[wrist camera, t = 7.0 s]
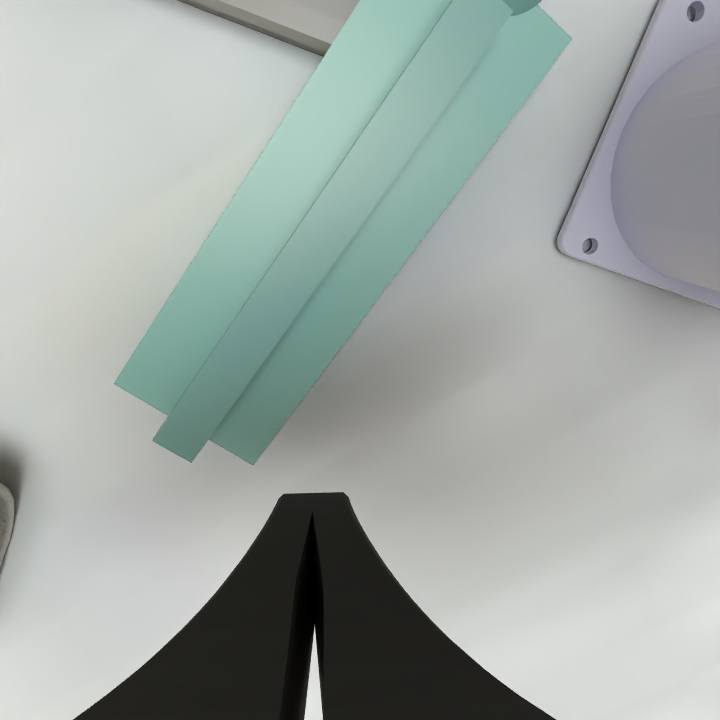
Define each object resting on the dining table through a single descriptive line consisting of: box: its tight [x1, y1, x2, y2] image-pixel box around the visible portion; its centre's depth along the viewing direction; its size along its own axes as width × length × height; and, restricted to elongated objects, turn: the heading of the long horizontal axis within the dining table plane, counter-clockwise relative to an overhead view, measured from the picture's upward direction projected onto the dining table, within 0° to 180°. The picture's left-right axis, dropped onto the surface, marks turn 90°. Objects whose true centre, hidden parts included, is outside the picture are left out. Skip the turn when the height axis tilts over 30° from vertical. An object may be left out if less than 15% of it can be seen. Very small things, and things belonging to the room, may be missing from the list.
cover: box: [114, 0, 572, 465], centre depth 14 cm, size 16×5×2 cm, turn 144°
